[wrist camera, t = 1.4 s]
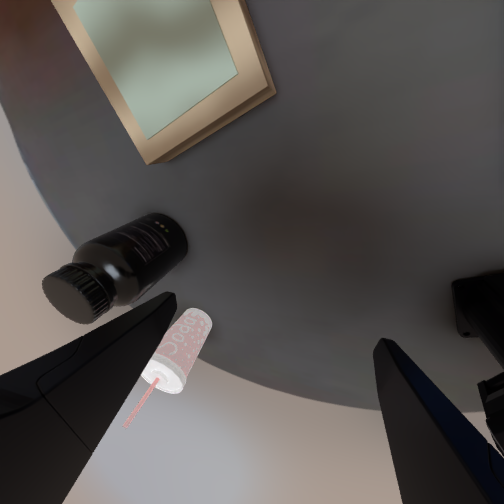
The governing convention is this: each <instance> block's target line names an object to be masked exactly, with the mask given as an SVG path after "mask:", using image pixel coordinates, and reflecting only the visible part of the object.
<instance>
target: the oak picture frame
mask: <svg viewBox="0 0 504 504" xmlns="http://www.w3.org/2000/svg"><path fill="white" fill-rule="evenodd" d="M51 1H52V3H53V5H54V6H55V8H56V10H57V11H58V13H59V15H60V17H61V18H62V20H63V22H64V23H65V25H66V27H67V29H68V30H69V32H70V34H71V36H72V37H73V39H74V41H75V42H76V44H77V46H78V48H79V49H80V51H81V53H82V54H83V56H84V58H85V60H86V61H87V63H88V65H89V66H90V68H91V70H92V72H93V73H94V75H95V77H96V79H97V80H98V82H99V84H100V85H101V87H102V89H103V91H104V92H105V94H106V96H107V97H108V99H109V101H110V103H111V104H112V106H113V108H114V109H115V111H116V113H117V115H118V116H119V118H120V120H121V122H122V123H123V125H124V127H125V128H126V130H127V132H128V134H129V135H130V137H131V139H132V140H133V142H134V144H135V146H136V147H137V149H138V151H139V152H140V154H141V156H142V158H143V159H144V161H145V163H146V165H151V164H156V163H162V162H168V161H169V160H171V159H173V158H174V157H176V156H177V155H179V154H181V153H182V152H184V151H185V150H187V149H189V148H190V147H192V146H193V145H195V144H197V143H198V142H200V141H201V140H203V139H205V138H206V137H208V136H209V135H211V134H213V133H214V132H216V131H217V130H219V129H221V128H222V127H224V126H225V125H227V124H229V123H230V122H232V121H233V120H235V119H237V118H238V117H240V116H241V115H243V114H245V113H246V112H248V111H249V110H251V109H252V108H254V107H256V106H257V105H259V104H260V103H262V102H264V101H265V100H267V99H268V98H270V97H272V96H273V95H275V94H276V93H277V92H276V90H275V87H274V84H273V81H272V78H271V75H270V72H269V69H268V66H267V63H266V60H265V57H264V54H263V51H262V49H261V46H260V43H259V40H258V37H257V34H256V31H255V28H254V25H253V22H252V19H251V16H250V13H249V10H248V8H247V5H246V2H245V0H51Z"/></svg>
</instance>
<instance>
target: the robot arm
mask: <svg viewBox="0 0 504 504" xmlns="http://www.w3.org/2000/svg"><path fill="white" fill-rule="evenodd" d="M460 285H462V286H461V287H458V286H460ZM452 292H453V300H454V307H455V315H456V322H457V330H458V333H459V334H460V336H462V337H464V338H470V337H479V338H480V339H481V340H482V341H483V343H484V344H485V345H486V347H487V348H488V349H489V351H490V352H491V353H492V355H493V356H494V357H495V359H496V360H497V361H498V363H499V364H500V365H501V367H502V368H503V369H504V273H503V274H497V275H490V276H483V277H477V278H470V279H463V280H457V281H455V282H453V283H452ZM176 310H177V302H176V295H175V293H172V292H164V293H162V294H160V295H158V296H156V297H155V298H153V299H151V300H149V301H147V302H145V303H143V304H141V305H139V306H138V307H136V308H134V309H132V310H130V311H128V312H126V313H124V314H123V315H121V316H119V317H117V318H115V319H113V320H111V321H109V322H108V323H106V324H104V325H102V326H100V327H98V328H96V329H94V330H92V331H91V332H89V333H87V334H85V335H84V336H81V337H79V338H77V339H75V340H73V341H72V342H70V343H68V344H66V345H64V346H62V347H60V348H58V349H56V350H54V351H52V352H50V353H48V354H45V355H43V356H41V357H39V358H37V359H35V360H33V361H31V362H28V363H26V364H24V365H22V366H20V367H17V368H16V369H13V370H11V371H9V372H7V373H4V374H2V375H0V504H62V503H63V501H64V500H65V498H66V496H67V495H68V493H69V491H70V490H71V488H72V486H73V485H74V483H75V482H76V480H77V478H78V476H79V475H80V474H81V472H82V470H83V468H84V467H85V465H86V464H87V462H88V460H89V459H90V457H91V456H92V453H93V452H94V450H95V449H96V447H97V445H98V444H99V442H100V440H101V439H102V437H103V436H104V434H105V432H106V431H107V429H108V427H109V426H110V424H111V423H112V421H113V419H114V418H115V416H116V415H117V413H118V411H119V410H120V408H121V406H122V405H123V403H124V401H125V399H126V398H127V396H128V395H129V393H130V392H131V390H132V388H133V387H134V385H135V384H136V382H137V380H138V378H139V377H140V375H141V374H142V372H143V370H144V369H145V367H146V366H147V364H148V362H149V361H150V359H151V357H152V356H153V354H154V353H155V351H156V349H157V348H158V346H159V344H160V343H161V341H162V339H163V337H164V335H165V333H166V331H167V329H168V327H169V325H170V322H171V320H172V318H173V316H174V314H175V312H176ZM464 332H465V333H464ZM373 359H374V368H375V376H376V384H377V392H378V398H379V402H380V407H381V411H382V415H383V420H384V424H385V429H386V433H387V437H388V442H389V446H390V450H391V455H392V459H393V464H394V468H395V472H396V477H397V481H398V485H399V490H400V494H401V499H402V503H403V504H504V458H503V457H502V456H501V455H500V454H499V452H498V451H497V450H496V449H495V448H494V447H493V446H492V445H491V444H490V443H488V442H487V440H486V439H485V438H484V437H483V435H482V434H481V433H480V432H479V431H478V430H477V429H476V428H475V427H474V426H473V425H472V424H471V423H470V422H469V421H468V420H467V418H466V417H465V416H464V415H463V414H462V413H461V412H460V411H459V410H458V409H457V408H456V407H455V406H454V404H453V403H452V402H451V401H450V400H449V399H448V398H447V397H446V396H445V395H444V394H443V393H442V392H441V391H440V389H439V388H438V387H437V386H436V385H435V384H434V383H433V382H432V381H431V380H430V379H429V378H428V377H427V376H426V375H425V373H424V372H423V371H422V370H421V369H420V368H419V367H418V366H417V365H416V364H415V363H414V362H413V361H412V360H411V358H410V357H409V356H408V355H407V354H406V353H405V352H404V351H403V350H402V349H401V348H400V347H399V346H398V345H397V343H396V342H395V341H393V340H391V339H386V338H381V339H380V340H379V342H378V344H377V345H376V347H375V349H374V351H373ZM477 385H478V389H479V393H480V396H481V400H482V403H483V407H484V411H485V414H486V418H487V419H486V423H487V427H488V429H489V430H490V432H491V435H492V438H493V440H494V442H495V444H496V447H497V448H498V450H499V451H500V452H501V453H502V455H503V456H504V372H502V373H500V374H498V375H496V376H494V377H493V378H491V379H489V380H487V381H485V380H483V381H481V382H480V383H478V384H477Z"/></svg>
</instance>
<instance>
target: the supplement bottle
mask: <svg viewBox="0 0 504 504" xmlns="http://www.w3.org/2000/svg"><path fill="white" fill-rule="evenodd" d="M186 250H187V243H186V239H185V236H184V234H183V232H182V230H181V229H180V227H179V226H178V225H177V224H176V223H175V222H174V221H172V220H171V219H170V218H168V217H166V216H163V215H160V214H148V215H145V216H143V217H141V218H139V219H136V220H134V221H132V222H130V223H127V224H125V225H123V226H121V227H119V228H116V229H114V230H112V231H110V232H107V233H105V234H103V235H101V236H99V237H96V238H94V239H92V240H90V241H88V242H86V243H84V244H82V245H81V246H80V247H79V248H78V249H77V250H76V252H75V254H74V256H73V260H72V263H69V264H66V265H64V266H62V267H61V268H60V269H59V270H57V271H55V272H53V273H51V274H49V275H48V276H46V277H45V278H44V280H43V281H42V282H43V283H42V286H43V287H42V288H43V290H44V293H45V295H46V297H47V298H48V300H49V302H50V303H51V304H52V305H53V306H54V307H55V308H56V309H57V310H58V311H59V312H60V313H61V314H63V315H64V316H65V317H67V318H69V319H70V320H72V321H74V322H77V323H80V324H90V323H93V322H94V321H95V320H97V319H98V318H99V317H100V316H102V315H103V314H104V313H106V312H108V311H109V310H110V309H111V308H112V307H113V306H126V305H130V304H132V303H134V302H135V301H137V300H138V299H139V298H140V297H141V296H143V295H144V294H145V293H146V292H147V291H148V290H149V289H150V288H152V287H153V286H154V285H155V284H156V283H157V282H158V281H159V280H160V279H162V278H163V277H164V276H165V275H166V274H167V273H168V272H169V271H171V270H172V269H173V268H174V267H175V266H176V265H177V264H178V263H179V262H180V261H181V260H182V259H183V258H184V256H185V254H186Z"/></svg>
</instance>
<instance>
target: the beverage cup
mask: <svg viewBox="0 0 504 504" xmlns="http://www.w3.org/2000/svg"><path fill="white" fill-rule="evenodd" d="M211 328H212V321H211V319H210V317H209V316H208V315H207V314H206V313H205V312H203V311H202V310H199V309H197V308H190V309H187V310H186V311H185V312H184V313H183V315H182V316H181V317H180V318H179V319H178V320H177V321H176V322H175V323H174V324H173V326H172V327H171V328H170V329H169V330H168V331H167V332H166V333H165V335H164V337H163V339H162V341H161V343H160V344H159V346H158V348H157V349H156V351H155V353H154V354H153V356H152V357H151V359H150V361H149V362H148V364H147V366H146V367H145V369H144V370H143V372H142V374H141V376H142V377H143V378H144V379H145V380H146V381H147V382H148V383H150V384H151V386H150V387H149V389H148V390H147V392H146V393H145V394H144V396H143V397H142V399H141V400H140V402H139V403H138V405H137V406H136V407H135V409H134V410H133V412H132V413H131V415H130V416H129V417H128V419H127V420H126V422H125V423H124V425H123V427H124V428H125V429H126V428H127V427H128V426H129V424H130V423H131V422H132V420H133V419H134V417H135V416H136V414H137V413H138V411H139V410H140V408H141V407H142V405H143V404H144V402H145V400H146V399H147V398H148V396H149V395H150V393H151V392H152V390H153V389H154V387H155V388H157V389H160V390H162V391H164V392H167V393H172V394H175V393H180V392H181V391H182V390H183V388H184V385H185V384H186V378H187V375H188V374H189V371H190V369H191V368H192V365H193V364H194V361H195V359H196V358H197V356H198V354H199V352H200V350H201V348H202V346H203V344H204V342H205V340H206V338H207V336H208V334H209V332H210V330H211Z"/></svg>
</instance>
